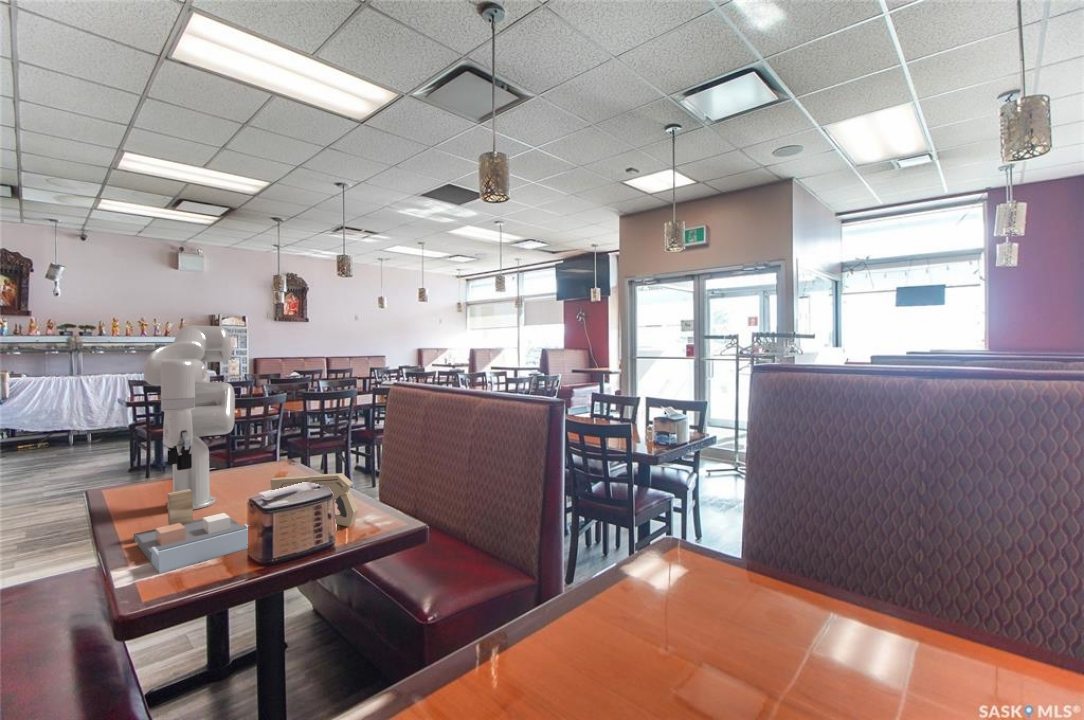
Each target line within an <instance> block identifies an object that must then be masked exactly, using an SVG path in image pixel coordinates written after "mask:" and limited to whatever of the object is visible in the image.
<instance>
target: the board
mask: <svg viewBox="0 0 1084 720" xmlns="http://www.w3.org/2000/svg"><path fill="white" fill-rule="evenodd" d="M183 526H184V527H185V540H181V541H177V542H173V543H169V544H165V545H160V544H159V543H158V542H157V541H156V531H155V532H151V533H147V534H142V535H138V536H137V547H138V548H139V549H140V550H141V552H142V553H143V554H144V556H145V557H146V558H147V559H148V561H149V562H150V563H151V555H152V547H156V549H157V550H158V551H162V550H166V549H170V548H174V547H177V546H181V545H185V544H189V543H193V542H197V541H201V540H205V539H209V538H213V537H217V536H220V535H224V534H228V533H232V532H236V531H240V530H244V526H243V525H241V524H239V523H238V522H236V521H235V520H234V519H233V518H231V517H230V528H229V529H225V530H221V531H217V532H213V533H209V534H208V533H207V532H206V531H205V530H204V529H203V521H199V522H194V523H190V524H186V525H183Z"/></svg>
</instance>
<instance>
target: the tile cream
mask: <svg viewBox="0 0 1084 720" xmlns="http://www.w3.org/2000/svg"><path fill="white" fill-rule="evenodd" d="M202 518H203V529H204V530H205V531H206V532H207V533H208V534H209V533H213V532H217V531H221V530H225V529H229V528H230V518H231V517H230V515H228V514H227V513H225V512H222V513H217V514H212V515H209V516H204V517H202Z"/></svg>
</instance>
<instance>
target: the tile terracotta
mask: <svg viewBox="0 0 1084 720" xmlns="http://www.w3.org/2000/svg"><path fill="white" fill-rule="evenodd" d="M155 529H156V541H157V542H158V543H159V544H160V545H165V544H169V543H173V542H177V541H181V540H185V527H184V526H183V525H182V524H181V523H177V524H172V525H168V524H167V525H165V526H160V527H156V528H155Z"/></svg>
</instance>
